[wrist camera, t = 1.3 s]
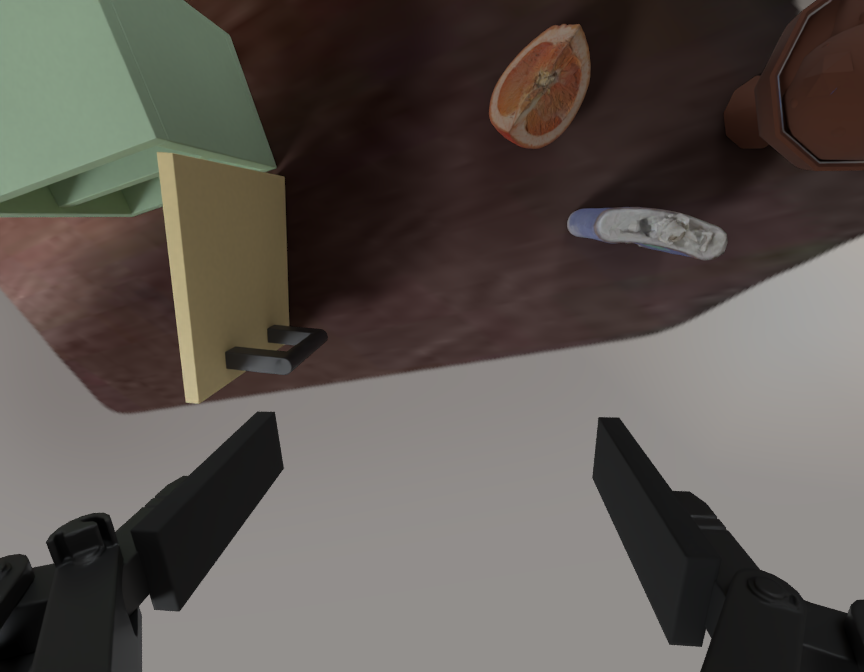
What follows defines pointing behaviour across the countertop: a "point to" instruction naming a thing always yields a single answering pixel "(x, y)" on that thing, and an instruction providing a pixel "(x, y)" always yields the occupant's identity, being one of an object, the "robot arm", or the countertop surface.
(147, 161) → the cupboard
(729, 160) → the countertop surface
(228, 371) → the door
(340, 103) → the countertop surface
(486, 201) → the countertop surface
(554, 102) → the fruit slice
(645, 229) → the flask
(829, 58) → the ice cream bowl
